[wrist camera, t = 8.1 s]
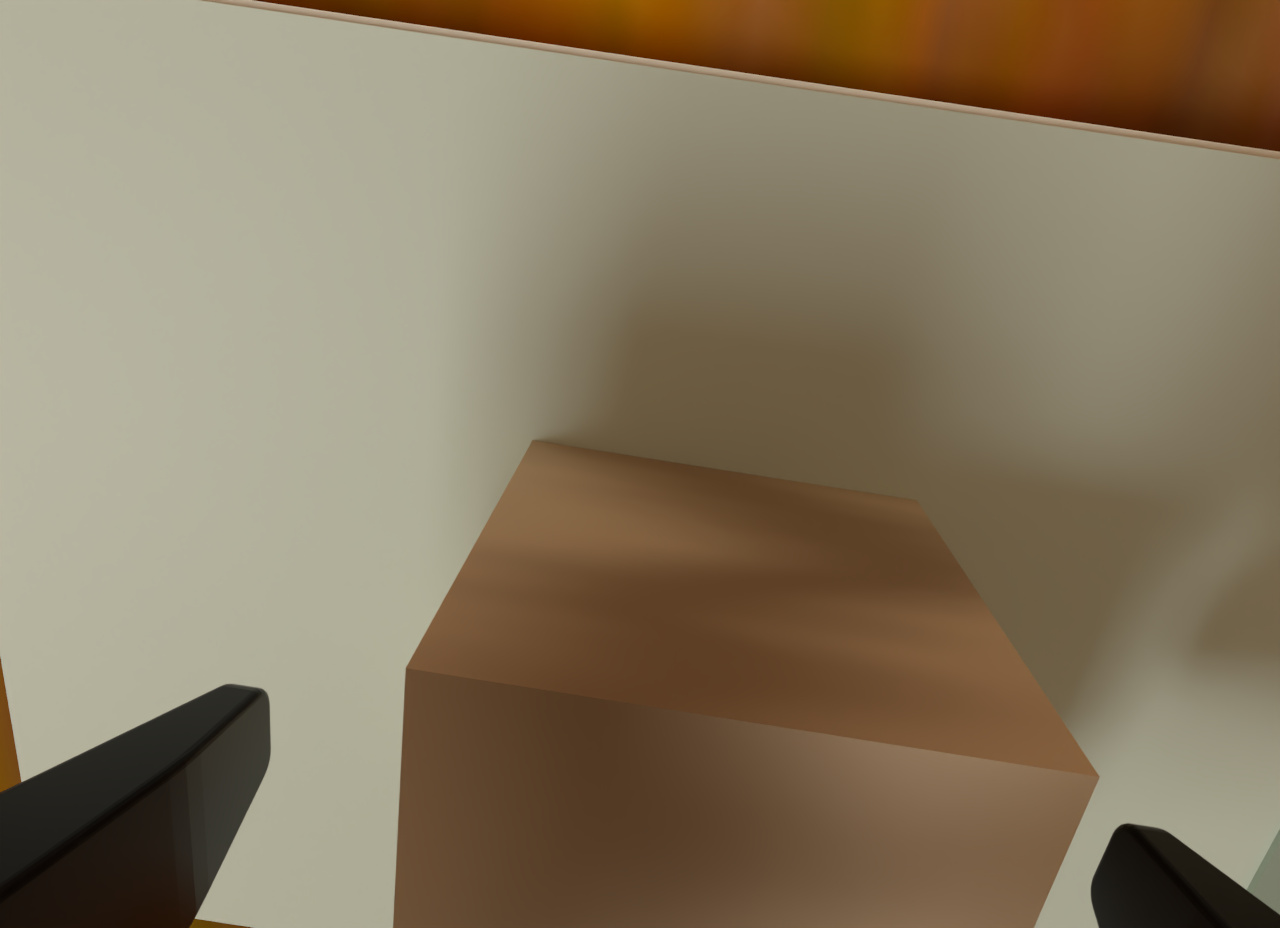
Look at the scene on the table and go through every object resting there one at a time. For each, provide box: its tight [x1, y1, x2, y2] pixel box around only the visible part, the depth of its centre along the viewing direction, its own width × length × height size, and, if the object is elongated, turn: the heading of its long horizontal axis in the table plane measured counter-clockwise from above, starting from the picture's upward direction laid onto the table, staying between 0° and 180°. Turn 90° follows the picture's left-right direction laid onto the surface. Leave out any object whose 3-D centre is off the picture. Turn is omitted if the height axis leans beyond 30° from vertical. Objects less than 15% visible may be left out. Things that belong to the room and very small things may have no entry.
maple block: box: [393, 440, 1100, 928], centre depth 9 cm, size 5×5×5 cm
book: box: [0, 0, 1280, 928], centre depth 12 cm, size 20×14×3 cm
